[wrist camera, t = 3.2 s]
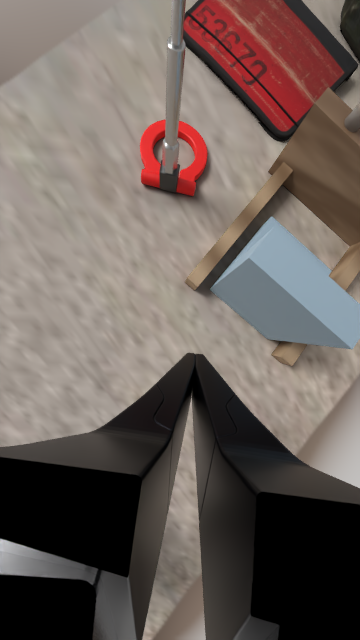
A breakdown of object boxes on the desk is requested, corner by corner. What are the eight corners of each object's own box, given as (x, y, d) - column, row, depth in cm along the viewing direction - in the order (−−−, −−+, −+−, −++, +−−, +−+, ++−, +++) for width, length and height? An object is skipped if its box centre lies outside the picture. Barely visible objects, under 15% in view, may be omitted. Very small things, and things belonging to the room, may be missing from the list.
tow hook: (147, 122, 22) (134, 186, 21) (128, -176, 9) (93, -47, 8) (209, 139, 23) (199, 201, 22) (271, -111, 10) (254, 13, 9)
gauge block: (266, 339, 22) (352, 349, 12) (209, 289, 21) (248, 257, 12) (313, 276, 23) (427, 239, 13) (259, 228, 22) (336, 150, 13)
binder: (255, -61, 22) (362, 61, 23) (246, -25, 24) (344, 85, 25) (170, 15, 21) (286, 139, 22) (170, 46, 23) (275, 156, 24)
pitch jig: (285, 366, 22) (387, 399, 12) (179, 277, 21) (193, 233, 11) (371, 245, 24) (520, 187, 14) (278, 159, 23) (366, 32, 13)
